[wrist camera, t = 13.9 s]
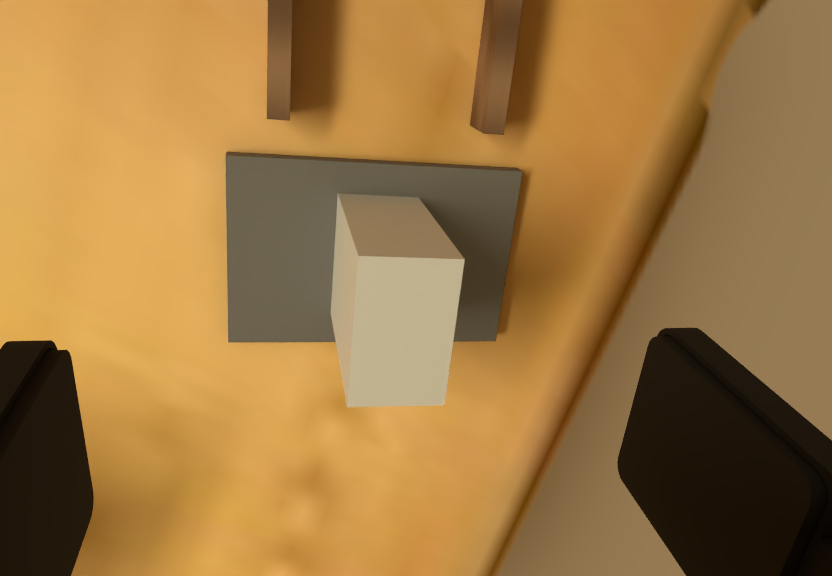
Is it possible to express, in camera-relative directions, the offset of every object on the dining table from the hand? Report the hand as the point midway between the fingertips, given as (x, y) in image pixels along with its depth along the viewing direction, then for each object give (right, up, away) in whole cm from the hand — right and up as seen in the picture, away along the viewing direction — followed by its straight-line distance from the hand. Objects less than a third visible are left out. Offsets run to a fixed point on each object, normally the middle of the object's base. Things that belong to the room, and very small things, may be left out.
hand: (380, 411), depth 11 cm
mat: (-2, +4, +32) cm, 32 cm away
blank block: (-2, +4, +31) cm, 31 cm away
